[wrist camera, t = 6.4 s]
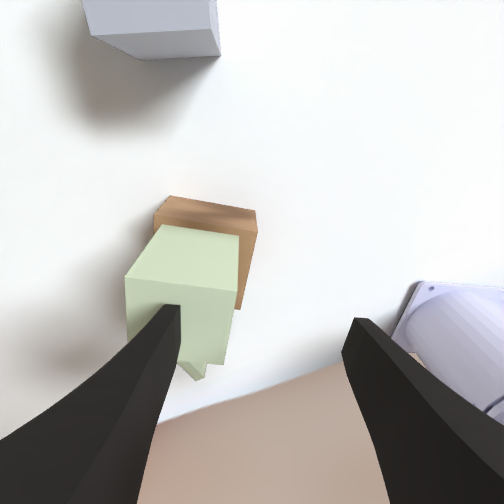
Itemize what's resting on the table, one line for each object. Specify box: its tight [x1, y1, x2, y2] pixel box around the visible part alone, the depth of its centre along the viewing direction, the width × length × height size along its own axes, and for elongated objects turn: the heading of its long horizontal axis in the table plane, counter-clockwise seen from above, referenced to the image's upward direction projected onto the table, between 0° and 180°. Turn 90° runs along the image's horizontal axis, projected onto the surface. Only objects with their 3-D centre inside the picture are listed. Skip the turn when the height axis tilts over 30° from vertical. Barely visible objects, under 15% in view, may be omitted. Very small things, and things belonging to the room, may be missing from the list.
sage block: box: [124, 224, 239, 365], centre depth 14 cm, size 4×4×6 cm
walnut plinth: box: [153, 196, 258, 310], centre depth 18 cm, size 6×6×4 cm
